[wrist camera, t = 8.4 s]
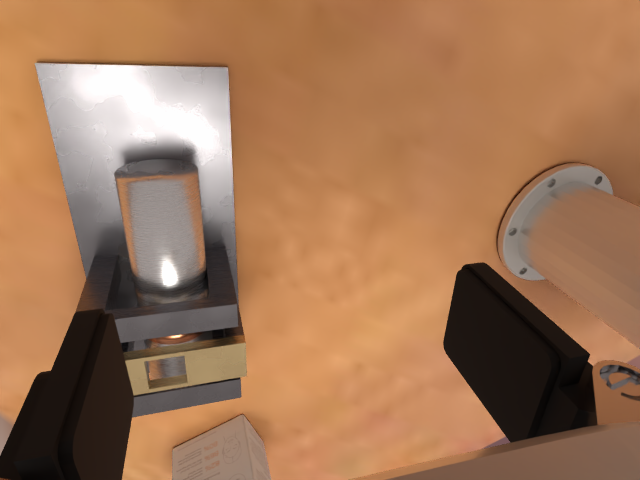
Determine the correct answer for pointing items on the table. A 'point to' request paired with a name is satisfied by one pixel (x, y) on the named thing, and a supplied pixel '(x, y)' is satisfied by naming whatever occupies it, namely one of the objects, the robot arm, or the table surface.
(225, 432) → the small box
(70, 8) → the table surface
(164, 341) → the tube
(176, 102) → the rail
